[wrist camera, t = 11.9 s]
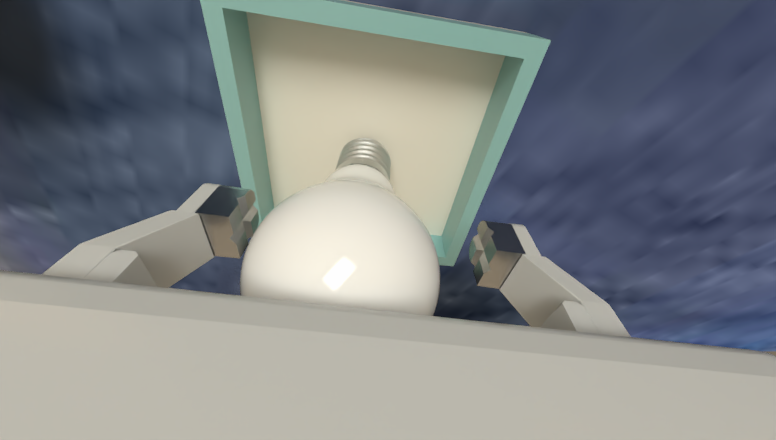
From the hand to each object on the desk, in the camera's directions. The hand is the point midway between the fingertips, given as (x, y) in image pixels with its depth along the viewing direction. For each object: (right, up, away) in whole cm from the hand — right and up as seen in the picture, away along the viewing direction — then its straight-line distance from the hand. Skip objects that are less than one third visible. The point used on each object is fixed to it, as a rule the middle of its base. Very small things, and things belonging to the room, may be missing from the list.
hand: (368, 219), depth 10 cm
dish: (0, +4, +5) cm, 7 cm away
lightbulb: (0, +4, +5) cm, 6 cm away
